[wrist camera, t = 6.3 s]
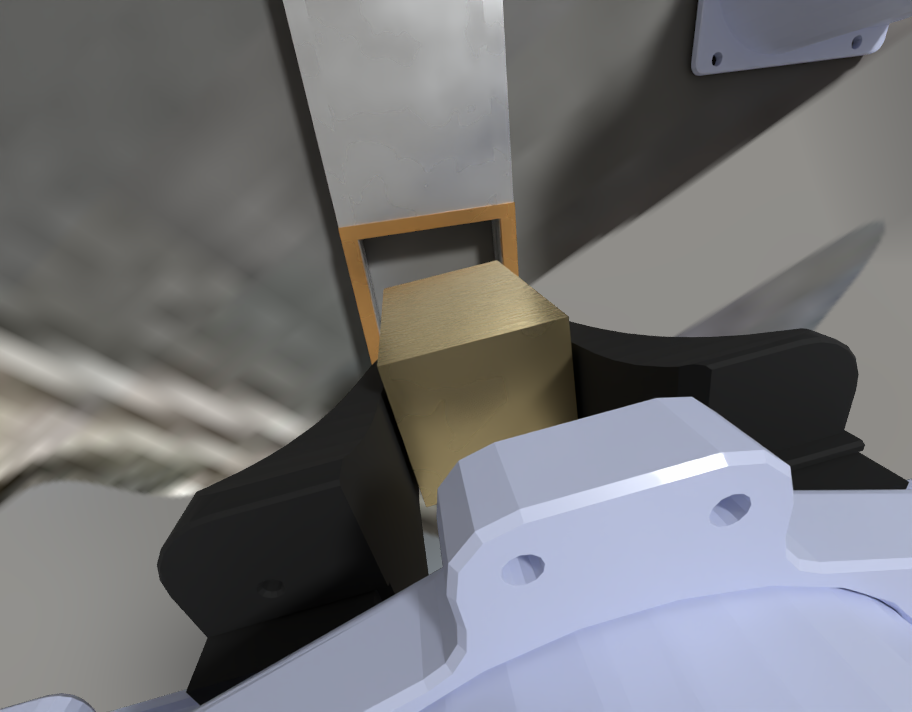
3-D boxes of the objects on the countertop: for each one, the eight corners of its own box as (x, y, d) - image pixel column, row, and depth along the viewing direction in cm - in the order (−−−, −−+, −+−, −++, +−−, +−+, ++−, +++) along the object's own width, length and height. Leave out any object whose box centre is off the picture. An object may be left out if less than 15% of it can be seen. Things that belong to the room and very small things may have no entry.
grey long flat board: (466, -408, 12) (477, -497, 10) (514, 359, 23) (523, 372, 21) (191, -403, 11) (158, -498, 9) (381, 383, 22) (380, 398, 21)
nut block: (497, 260, 13) (568, 316, 8) (513, 361, 15) (582, 463, 10) (383, 288, 13) (377, 366, 8) (414, 387, 15) (426, 507, 9)
